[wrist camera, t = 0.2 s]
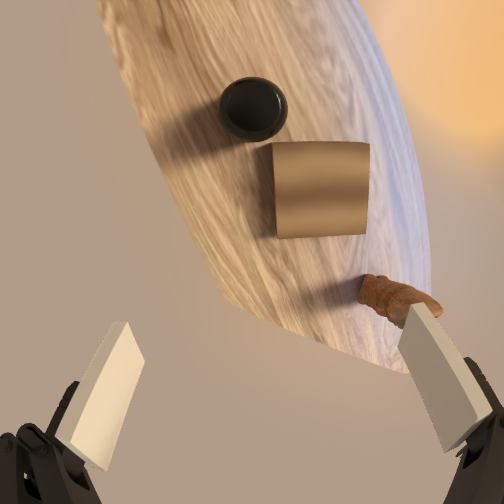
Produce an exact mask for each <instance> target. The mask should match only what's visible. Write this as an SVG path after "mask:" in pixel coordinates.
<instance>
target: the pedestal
mask: <svg viewBox="0 0 504 504" xmlns="http://www.w3.org/2000/svg"><path fill="white" fill-rule="evenodd" d="M271 149H272V165H273V182H274V200H275V220H276V233H277V239H287V238H304V237H322V236H340V235H359V234H366V226H367V212H368V195H369V164H370V144H367V143H363V142H341V141H302V142H274V143H271Z"/></svg>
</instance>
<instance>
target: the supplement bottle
mask: <svg viewBox="0 0 504 504" xmlns="http://www.w3.org/2000/svg"><path fill="white" fill-rule="evenodd" d="M217 111H218V118H219V121H220V123H221V125H222V127H223V128H224V129H225V130H226V132H227V133H229V134H230V135H231V136H233V137H234V138H236V139H238V140H241V141H244V142H261V141H264V140H267V139H269V138H271V137H273V136H274V135H276V134H277V133H278V132H279V131H280V130H281V128H282V127H283V125H284V123H285V121H286V118H287V114H288V106H287V101H286V98H285V96H284V94H283V92H282V91H281V90H280V88H279V87H278V86H276V85H275V84H274V83H272V82H271V81H269V80H267V79H264V78H260V77H245V78H241V79H239V80H236V81H234V82H233V83H231V84H230V85H229V86H228V87H227V88H226V89H225V90H224V91H223V93H222V94H221V96H220V99H219V102H218V108H217Z"/></svg>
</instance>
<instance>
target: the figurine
mask: <svg viewBox="0 0 504 504" xmlns="http://www.w3.org/2000/svg"><path fill="white" fill-rule="evenodd" d="M358 302H359V303H360V304H366V305H367V306H369V307H372V308H373V309H374V310H375V311H376V313H377V314H378V315H380V316H384V317H387V318H388V320H389V321H390V322H392V323H394V325H396V326H398V328H400V329H404V326H405V322H406V319H407V316H408V312H409V309H410V305H411V304H416V303H422V302H424V303H425V305H426V306H427V307H428V309H429V310H430V311H431V313H432V314H433V316H434V317H435V318H437V317H439V316H440V315H441V314H442V313H443V308H442V307H441V306H440V304H439V303H438V302H437V301H435V300H434V299H433V298H431V297H430V296H429V295H427V294H425V293H423V292H421V291H419V290H416V289H415V288H413V287H412V286H409V285H406V284H402V283H398V282H394V281H391V280H389V279H388V278H387V277H386V276H380V277H379V278H376V277H375V276H374V275H371V274H369V275H366V276H365V278H364V280H363V284H362V286H361V290H360V292H359V296H358Z"/></svg>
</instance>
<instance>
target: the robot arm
mask: <svg viewBox="0 0 504 504" xmlns="http://www.w3.org/2000/svg"><path fill="white" fill-rule="evenodd" d="M398 349H399V351H400V353H401V355H402V357H403V359H404V361H405V363H406V365H407V367H408V369H409V371H410V373H411V375H412V377H413V379H414V381H415V384H416V386H417V388H418V390H419V392H420V394H421V397H422V399H423V401H424V404H425V406H426V408H427V411H428V413H429V415H430V418H431V420H432V423H433V425H434V428H435V430H436V432H437V435H438V438H439V440H440V443H441V446H442V448H443V451H444V453H446V452H448V451H450V450H452V449H454V448H456V447H458V446H459V445H460V444H461V443H462V442H463V441H464V440H466V442H467V445H466V446H464V447H463V448H462V449H461V450H460V451H459V452H458V453H457V455H456V457H458V456H459V455H461V454H462V453H463V454H462V456H461V457H460V458H461V460H460V463H459V466H458V469H457V472H456V474H455V477H454V479H453V482H452V484H451V487H450V489H449V491H448V494H447V497H446V499H445V501H444V503H443V504H504V408H503V407H502V405H501V404H500V402H499V400H498V398H497V397H496V395H495V393H494V391H493V390H492V388H491V386H490V385H489V383H488V381H486V378H485V376H484V375H483V374H482V372H481V370H480V368H479V367H478V365H477V363H475V362H474V361H473V360H472V359H470V358H469V357H466V358H462V357H461V355H460V353H459V352H458V350H457V349H456V347H455V346H454V344H453V343H452V342H451V340H450V338H449V337H448V335H447V334H446V332H445V331H444V330H443V328H442V327H441V325H440V324H439V323H438V321H437V320H436V318H435V317H434V316H433V314H432V313H431V311H430V310H429V309H428V307H427V306H426V305H425V303H424V302H422V303H416V304H411V305H410V309H409V312H408V316H407V319H406V322H405V326H404V329H403V332H402V335H401V338H400V341H399V344H398ZM144 363H145V361H144V359H143V357H142V354H141V352H140V350H139V348H138V346H137V343H136V341H135V339H134V336H133V334H132V332H131V329H130V327H129V324H128V322H122V321H114V322H113V324H112V325H111V327H110V329H109V331H108V332H107V334H106V336H105V338H104V339H103V341H102V343H101V345H100V346H99V348H98V350H97V352H96V353H95V355H94V357H93V359H92V361H91V362H90V364H89V366H88V368H87V370H86V372H85V374H84V376H83V378H82V379H81V381H80V382H78V381H74V382H73V383H72V384H71V385H70V386H69V387H68V388H67V390H66V392H65V394H64V395H63V397H62V398H63V399H62V400H61V401H60V403H59V407H57V409H56V411H55V413H54V416H53V418H52V420H51V422H50V424H49V426H48V428H47V430H46V432H45V434H44V433H43V432H42V431H41V430H40V429H39V428H38V427H37V426H36V425H35V424H32V423H26V424H24V425H23V426H21V427H20V428H19V430H18V432H17V434H16V437H15V436H14V435H13V434H11V433H4V434H2V435H1V436H0V504H102V503H101V501H100V499H99V497H98V495H97V493H96V491H95V488H94V486H93V484H92V482H91V480H90V477H89V475H88V473H87V470H86V469H85V467H84V464H85V462H86V463H87V464H88V465H90V466H91V467H93V468H96V469H99V470H102V471H105V472H107V471H108V468H109V465H110V461H111V458H112V455H113V451H114V448H115V445H116V441H117V439H118V435H119V433H120V430H121V427H122V424H123V421H124V418H125V415H126V412H127V409H128V406H129V403H130V401H131V398H132V395H133V392H134V389H135V387H136V384H137V381H138V379H139V376H140V373H141V371H142V368H143V365H144ZM24 473H26V474H27V478H26V479H25V478H24Z"/></svg>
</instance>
